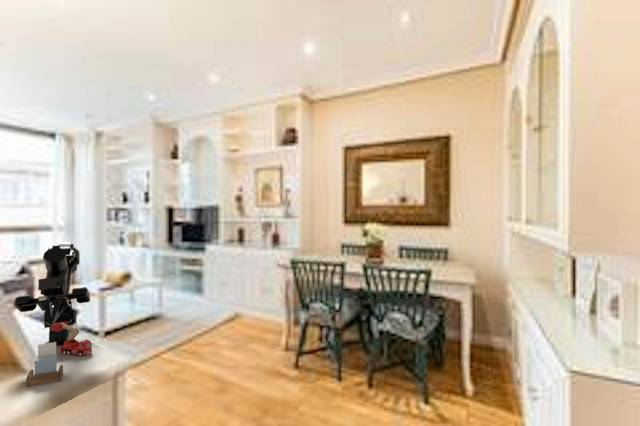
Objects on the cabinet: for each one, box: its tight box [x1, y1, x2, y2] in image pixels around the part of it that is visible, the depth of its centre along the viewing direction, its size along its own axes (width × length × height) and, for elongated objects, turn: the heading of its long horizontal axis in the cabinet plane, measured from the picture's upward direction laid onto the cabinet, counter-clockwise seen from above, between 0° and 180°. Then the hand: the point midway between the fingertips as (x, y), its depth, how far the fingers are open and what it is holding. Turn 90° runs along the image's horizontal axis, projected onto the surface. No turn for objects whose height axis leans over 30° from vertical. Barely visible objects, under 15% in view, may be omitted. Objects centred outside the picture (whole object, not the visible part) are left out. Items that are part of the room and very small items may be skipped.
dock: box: [25, 364, 64, 388], centre depth 104 cm, size 11×8×2 cm, turn 30°
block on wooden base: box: [34, 342, 58, 375], centre depth 101 cm, size 4×4×9 cm
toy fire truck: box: [51, 322, 93, 357], centre depth 120 cm, size 3×14×10 cm, turn 78°
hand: (51, 324), depth 110 cm, fingers closed
